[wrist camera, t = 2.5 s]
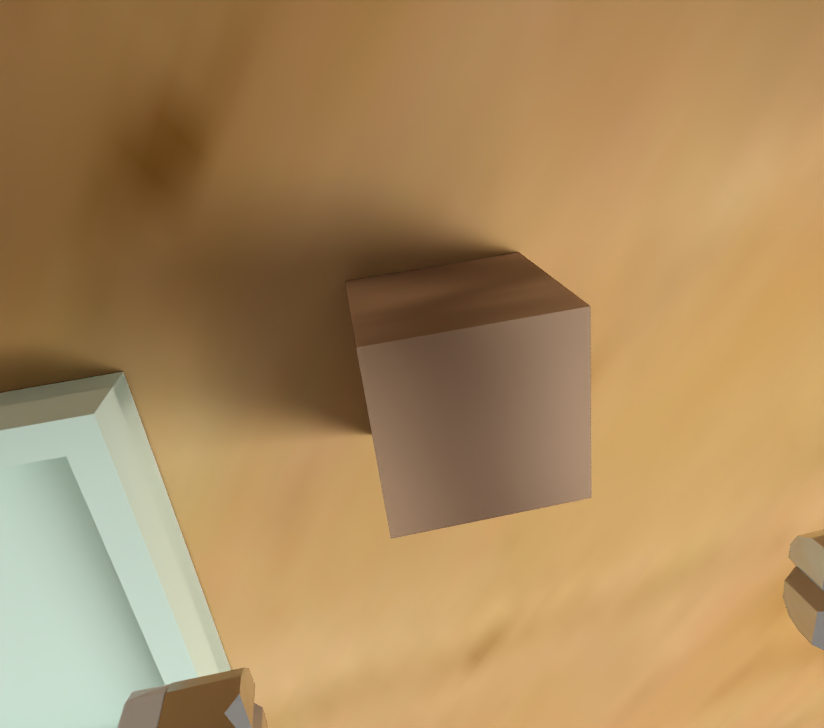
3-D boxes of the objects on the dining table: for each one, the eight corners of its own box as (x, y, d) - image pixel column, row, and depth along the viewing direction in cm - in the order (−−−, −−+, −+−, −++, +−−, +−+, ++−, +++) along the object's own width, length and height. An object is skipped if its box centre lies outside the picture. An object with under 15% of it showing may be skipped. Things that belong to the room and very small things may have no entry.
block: (518, 251, 17) (590, 306, 13) (526, 404, 19) (591, 497, 15) (344, 280, 17) (356, 347, 12) (372, 433, 19) (390, 538, 14)
